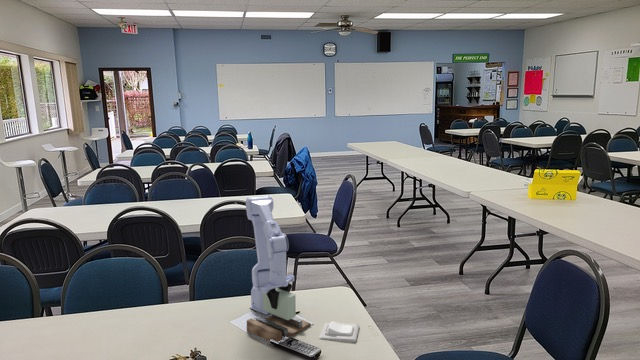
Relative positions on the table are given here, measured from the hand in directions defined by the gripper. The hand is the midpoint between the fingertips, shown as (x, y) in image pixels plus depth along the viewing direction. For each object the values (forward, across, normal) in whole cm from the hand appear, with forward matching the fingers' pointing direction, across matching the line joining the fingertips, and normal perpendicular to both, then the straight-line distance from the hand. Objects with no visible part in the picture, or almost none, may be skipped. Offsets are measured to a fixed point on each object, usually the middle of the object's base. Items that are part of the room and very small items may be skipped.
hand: (278, 306), depth 159 cm
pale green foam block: (+3, 0, 0) cm, 3 cm away
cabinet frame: (+8, 0, 0) cm, 8 cm away
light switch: (+9, +11, -18) cm, 24 cm away
